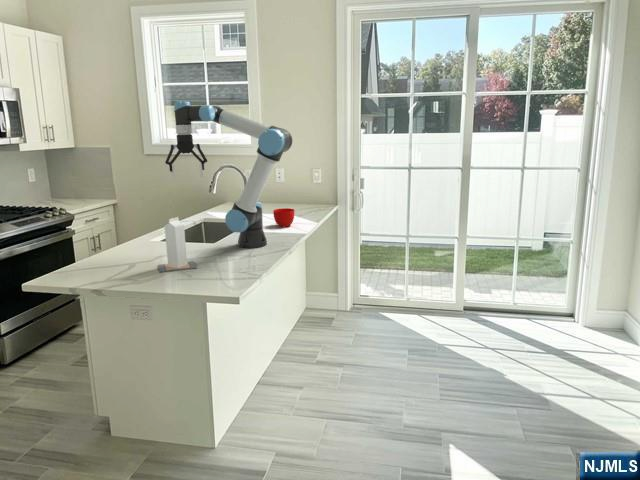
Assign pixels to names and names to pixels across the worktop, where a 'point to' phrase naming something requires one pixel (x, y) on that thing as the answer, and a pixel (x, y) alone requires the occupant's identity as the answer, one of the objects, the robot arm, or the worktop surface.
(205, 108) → the robot arm
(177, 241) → the milk
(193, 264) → the board
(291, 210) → the ceramic cup
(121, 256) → the worktop surface
